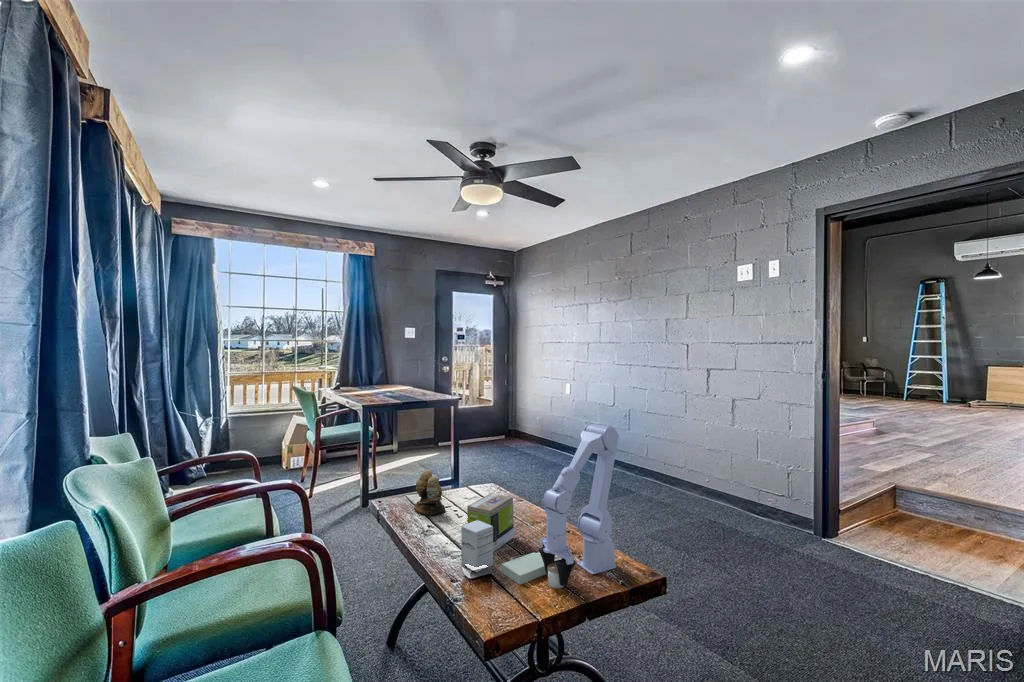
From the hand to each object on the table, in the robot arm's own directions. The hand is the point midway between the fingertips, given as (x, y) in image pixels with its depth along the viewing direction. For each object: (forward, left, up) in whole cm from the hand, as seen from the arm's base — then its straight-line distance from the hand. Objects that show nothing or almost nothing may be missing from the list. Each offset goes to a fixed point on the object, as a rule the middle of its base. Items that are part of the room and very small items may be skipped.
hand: (556, 578), depth 138 cm
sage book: (+4, -10, -2) cm, 11 cm away
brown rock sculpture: (+14, -75, -2) cm, 76 cm away
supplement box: (+16, -21, -2) cm, 26 cm away
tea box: (+5, -34, -2) cm, 34 cm away
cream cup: (0, 0, -2) cm, 2 cm away
